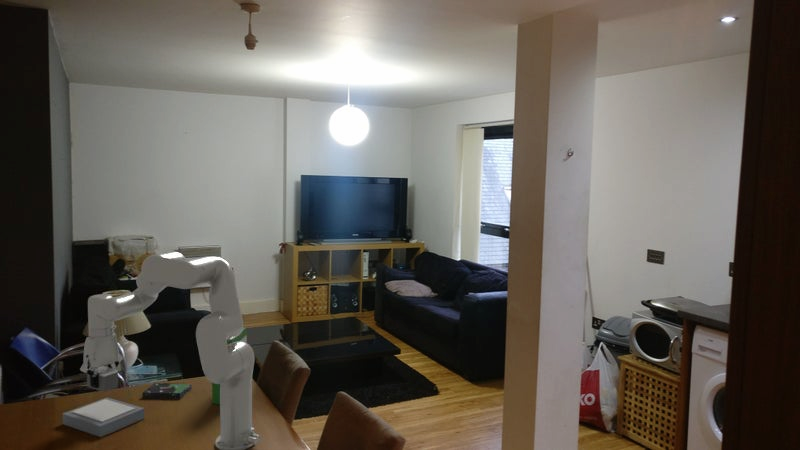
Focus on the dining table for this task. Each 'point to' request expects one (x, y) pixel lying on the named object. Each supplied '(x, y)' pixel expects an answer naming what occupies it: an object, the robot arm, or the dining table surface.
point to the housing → (105, 379)
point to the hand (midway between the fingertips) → (102, 384)
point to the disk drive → (166, 390)
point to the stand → (103, 416)
